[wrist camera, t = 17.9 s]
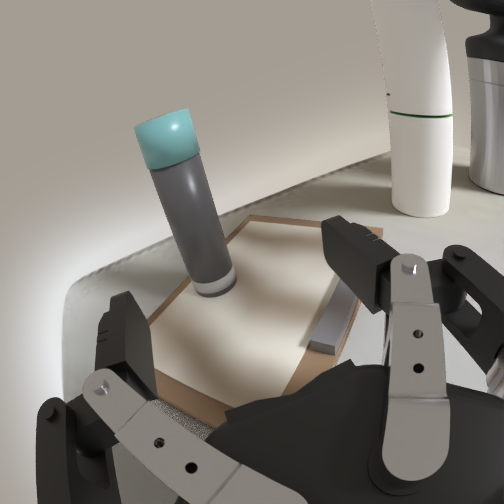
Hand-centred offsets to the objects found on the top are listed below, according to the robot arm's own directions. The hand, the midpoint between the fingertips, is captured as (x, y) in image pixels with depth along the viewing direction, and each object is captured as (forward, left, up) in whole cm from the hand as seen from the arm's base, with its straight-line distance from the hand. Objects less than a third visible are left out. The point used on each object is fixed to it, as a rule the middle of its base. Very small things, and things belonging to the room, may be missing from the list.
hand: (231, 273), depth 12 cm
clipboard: (-7, -5, -10) cm, 13 cm away
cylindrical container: (-26, +6, -10) cm, 29 cm away
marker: (-7, -9, -9) cm, 14 cm away
